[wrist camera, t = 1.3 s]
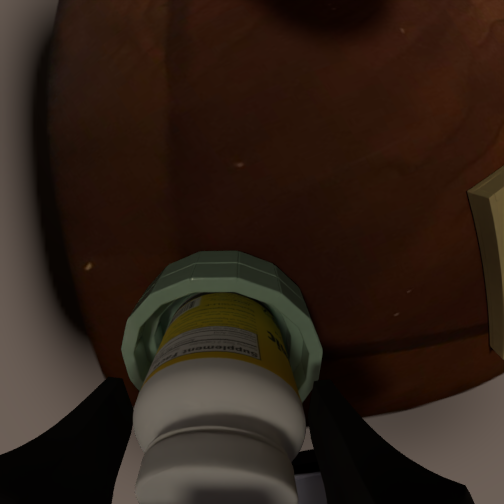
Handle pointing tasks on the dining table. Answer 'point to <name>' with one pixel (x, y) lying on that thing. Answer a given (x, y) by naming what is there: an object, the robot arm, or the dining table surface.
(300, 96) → the dining table surface
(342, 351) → the dining table surface
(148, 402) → the supplement bottle
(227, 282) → the celadon dish
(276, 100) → the dining table surface
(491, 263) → the enamel tray
